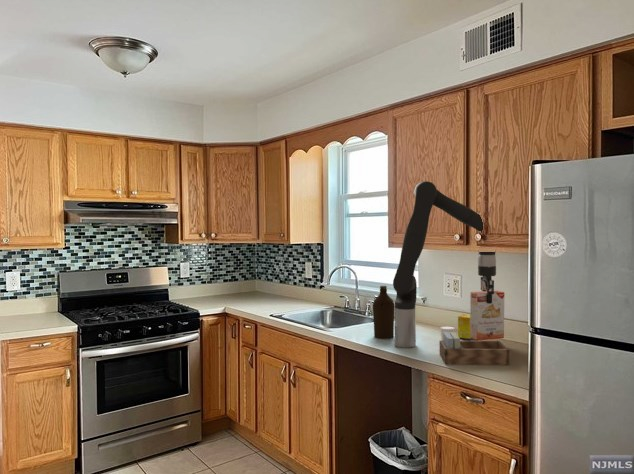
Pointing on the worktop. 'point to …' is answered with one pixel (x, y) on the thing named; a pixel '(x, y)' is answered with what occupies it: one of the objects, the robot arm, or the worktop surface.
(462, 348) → the wooden tray
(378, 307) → the olive oil
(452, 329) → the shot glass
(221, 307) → the worktop surface
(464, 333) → the yellow cylinder
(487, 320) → the cracker box
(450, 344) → the offcut
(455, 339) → the offcut
